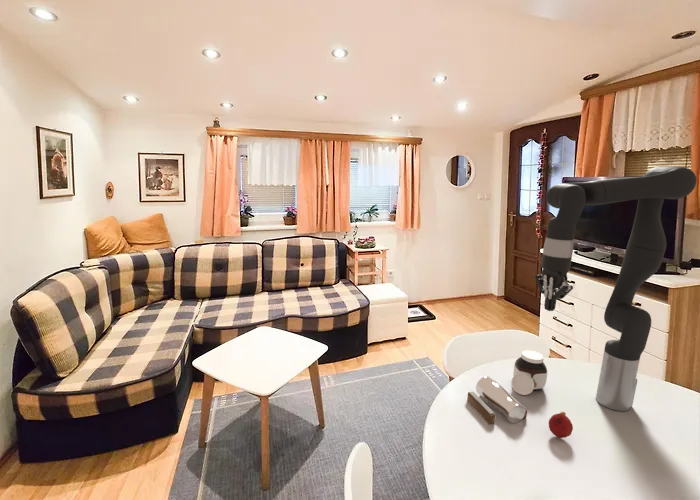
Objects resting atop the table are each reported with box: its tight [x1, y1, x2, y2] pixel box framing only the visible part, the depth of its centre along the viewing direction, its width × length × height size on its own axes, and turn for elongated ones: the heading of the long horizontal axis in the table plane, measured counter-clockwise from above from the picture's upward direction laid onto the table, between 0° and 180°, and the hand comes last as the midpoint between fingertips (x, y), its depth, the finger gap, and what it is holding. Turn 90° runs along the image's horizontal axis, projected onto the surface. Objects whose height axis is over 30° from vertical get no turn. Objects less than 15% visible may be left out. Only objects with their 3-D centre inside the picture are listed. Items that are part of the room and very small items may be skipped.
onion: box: [548, 411, 574, 439], centre depth 106 cm, size 6×6×8 cm
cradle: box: [466, 391, 528, 426], centre depth 118 cm, size 13×12×3 cm
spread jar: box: [511, 350, 548, 396], centre depth 130 cm, size 12×11×12 cm
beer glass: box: [475, 375, 526, 424], centre depth 119 cm, size 7×7×15 cm
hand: (549, 309), depth 115 cm, fingers closed
